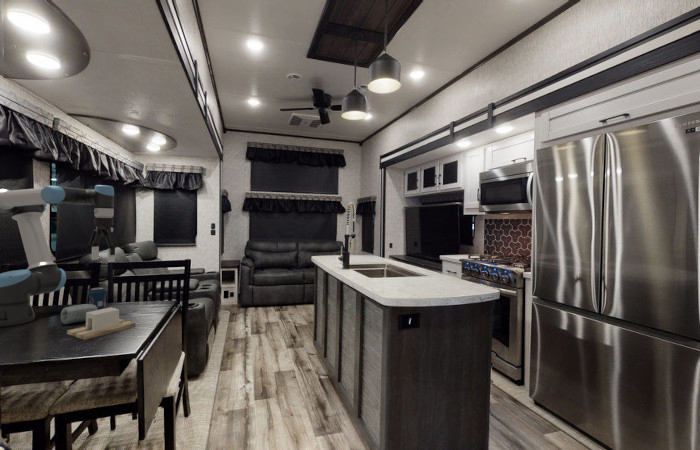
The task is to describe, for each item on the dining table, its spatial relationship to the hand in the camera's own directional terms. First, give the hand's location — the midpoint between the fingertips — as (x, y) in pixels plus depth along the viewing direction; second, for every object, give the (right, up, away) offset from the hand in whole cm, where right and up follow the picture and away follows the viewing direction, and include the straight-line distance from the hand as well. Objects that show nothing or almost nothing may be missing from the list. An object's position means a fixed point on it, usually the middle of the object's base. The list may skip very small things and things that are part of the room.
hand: (103, 260), depth 160 cm
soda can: (-14, -28, +14) cm, 35 cm away
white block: (+10, -28, -14) cm, 33 cm away
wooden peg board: (+10, -29, -14) cm, 34 cm away
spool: (-8, -29, -4) cm, 30 cm away
